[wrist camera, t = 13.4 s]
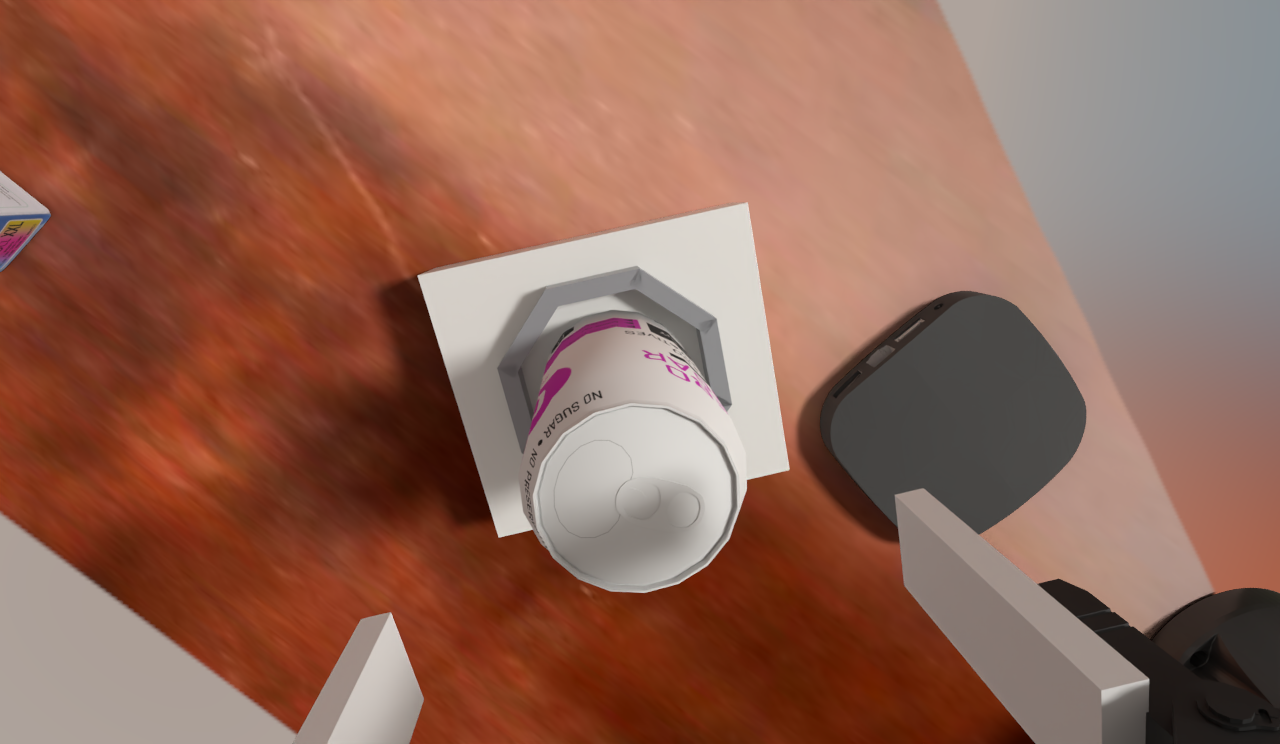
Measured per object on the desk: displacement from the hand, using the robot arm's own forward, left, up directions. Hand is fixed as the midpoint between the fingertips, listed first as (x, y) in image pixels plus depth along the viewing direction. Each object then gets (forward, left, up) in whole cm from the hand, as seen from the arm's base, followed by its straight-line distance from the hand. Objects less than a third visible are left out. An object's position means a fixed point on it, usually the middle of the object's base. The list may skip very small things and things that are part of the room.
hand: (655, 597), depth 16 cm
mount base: (0, 0, -24) cm, 24 cm away
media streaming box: (-21, +9, -25) cm, 34 cm away
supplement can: (0, 0, -20) cm, 20 cm away
